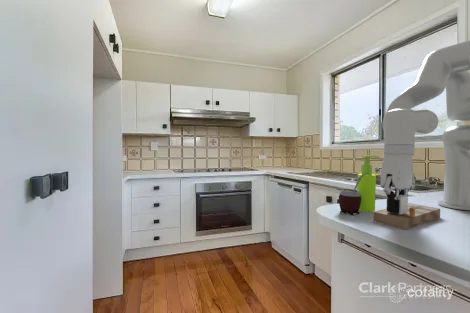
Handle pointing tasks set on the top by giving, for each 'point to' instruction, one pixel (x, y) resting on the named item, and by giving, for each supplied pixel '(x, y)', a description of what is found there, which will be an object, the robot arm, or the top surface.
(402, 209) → the fader knob
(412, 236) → the top surface
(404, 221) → the fader console
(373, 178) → the soap dispenser
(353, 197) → the mate gourd
